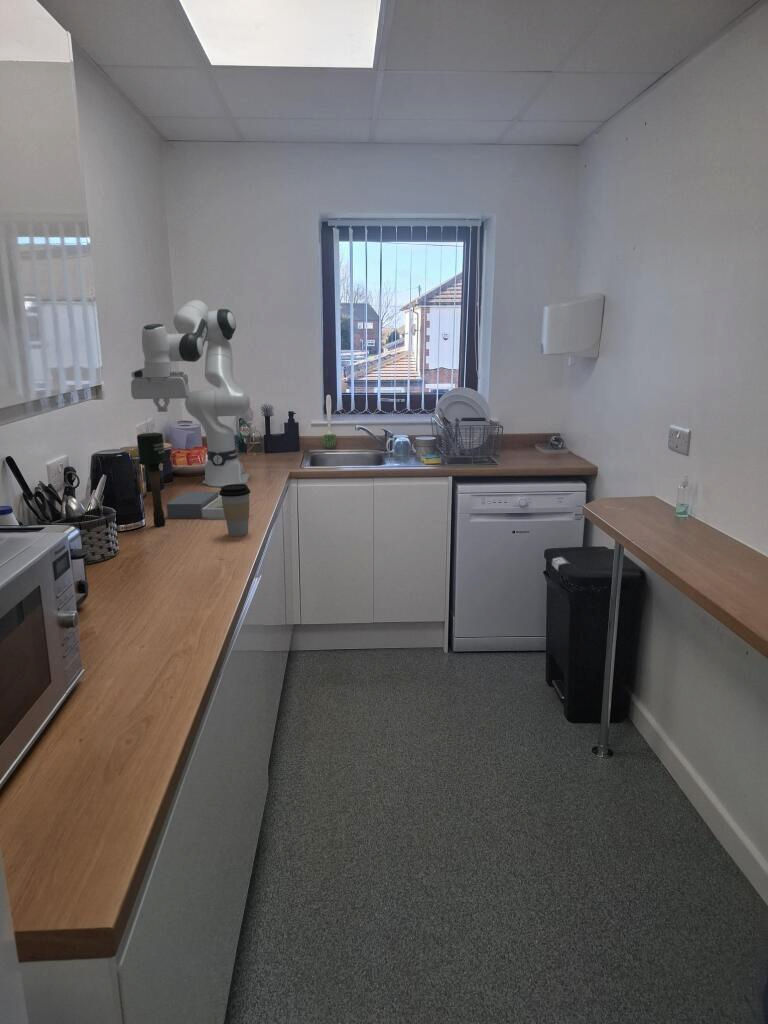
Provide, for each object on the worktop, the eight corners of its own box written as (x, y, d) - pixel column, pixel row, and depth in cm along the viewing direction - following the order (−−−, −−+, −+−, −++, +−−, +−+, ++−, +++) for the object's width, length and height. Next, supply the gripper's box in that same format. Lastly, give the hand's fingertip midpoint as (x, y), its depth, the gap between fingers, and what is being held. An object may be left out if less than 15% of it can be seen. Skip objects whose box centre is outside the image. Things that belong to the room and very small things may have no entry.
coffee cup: (259, 530, 210) (255, 484, 206) (243, 539, 202) (239, 490, 198) (233, 528, 213) (229, 482, 209) (216, 536, 205) (212, 489, 201)
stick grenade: (165, 529, 214) (155, 436, 206) (140, 528, 216) (129, 436, 208) (178, 522, 222) (168, 432, 214) (154, 521, 224) (144, 432, 216)
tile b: (234, 499, 232) (236, 506, 233) (218, 503, 233) (220, 510, 234) (229, 504, 226) (231, 511, 227) (212, 508, 227) (215, 514, 228)
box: (221, 504, 245) (220, 495, 244) (248, 504, 244) (247, 495, 243) (202, 519, 225) (201, 509, 224) (231, 519, 224) (230, 509, 224)
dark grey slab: (187, 505, 245) (186, 491, 244) (219, 505, 244) (218, 491, 242) (167, 518, 227) (166, 504, 226) (202, 518, 226) (200, 504, 225)
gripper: (190, 370, 236) (194, 410, 240) (134, 372, 238) (139, 411, 241) (183, 371, 230) (187, 412, 234) (126, 373, 232) (131, 413, 235)
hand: (162, 411), depth 238 cm, fingers closed
